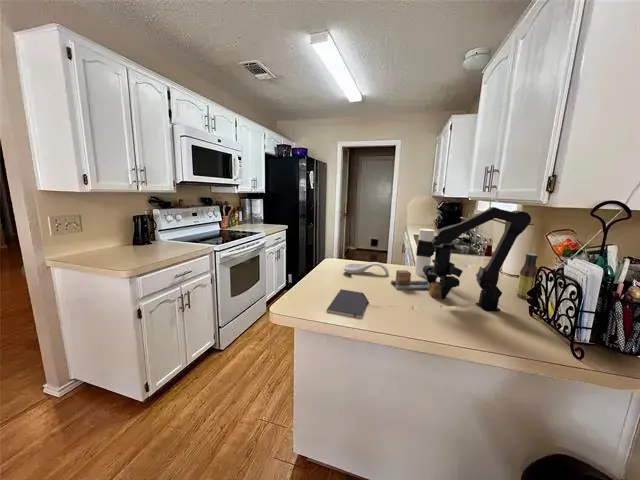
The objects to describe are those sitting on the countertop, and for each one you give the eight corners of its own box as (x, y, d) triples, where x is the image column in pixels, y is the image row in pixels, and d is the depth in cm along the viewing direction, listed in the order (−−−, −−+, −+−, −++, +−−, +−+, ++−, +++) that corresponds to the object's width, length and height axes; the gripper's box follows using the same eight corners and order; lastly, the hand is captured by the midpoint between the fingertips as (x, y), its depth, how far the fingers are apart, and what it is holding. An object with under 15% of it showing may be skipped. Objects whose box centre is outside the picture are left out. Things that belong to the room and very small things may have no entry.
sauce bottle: (527, 295, 125) (536, 252, 121) (536, 301, 119) (546, 256, 115) (512, 294, 126) (520, 251, 122) (520, 299, 120) (529, 255, 116)
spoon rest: (341, 275, 142) (341, 262, 140) (344, 269, 153) (345, 256, 152) (388, 281, 137) (389, 267, 135) (388, 274, 148) (389, 261, 146)
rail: (444, 293, 123) (445, 287, 122) (397, 293, 120) (397, 287, 120) (433, 285, 132) (434, 279, 132) (389, 285, 130) (389, 279, 130)
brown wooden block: (444, 301, 115) (446, 285, 113) (431, 301, 114) (433, 285, 113) (440, 297, 118) (442, 282, 117) (427, 297, 117) (429, 282, 116)
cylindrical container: (414, 277, 143) (419, 230, 138) (413, 273, 149) (419, 228, 145) (429, 279, 141) (435, 231, 136) (427, 275, 148) (433, 229, 143)
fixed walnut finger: (409, 287, 124) (411, 272, 123) (397, 287, 123) (399, 272, 122) (406, 284, 127) (408, 270, 126) (395, 284, 127) (396, 270, 125)
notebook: (340, 292, 120) (326, 313, 100) (340, 289, 120) (326, 309, 100) (369, 297, 116) (361, 319, 97) (370, 293, 116) (361, 315, 96)
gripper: (475, 265, 104) (469, 304, 107) (448, 253, 123) (443, 286, 126) (447, 265, 103) (442, 304, 106) (424, 253, 121) (420, 286, 125)
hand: (437, 294), depth 116 cm, fingers open, 9 cm apart
